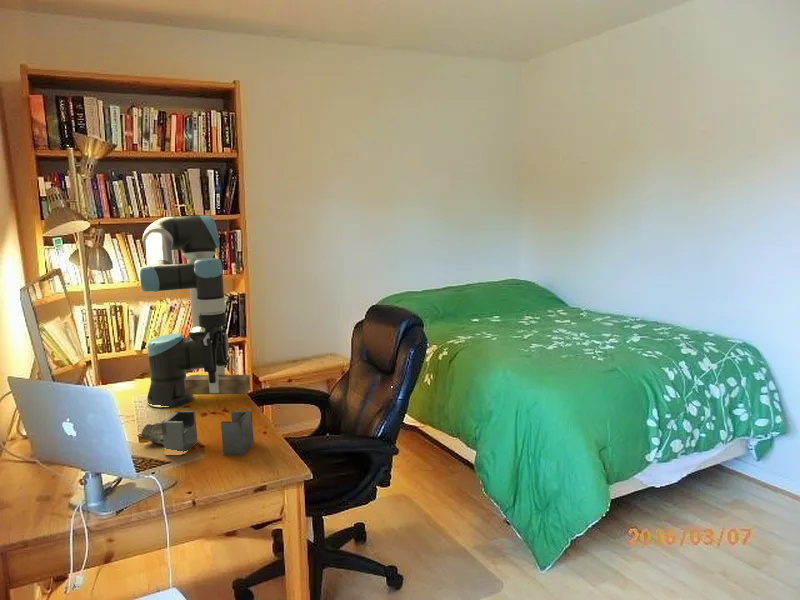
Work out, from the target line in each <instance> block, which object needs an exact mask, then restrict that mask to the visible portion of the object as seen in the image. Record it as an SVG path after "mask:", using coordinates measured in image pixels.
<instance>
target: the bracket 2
mask: <svg viewBox="0 0 800 600" xmlns="http://www.w3.org/2000/svg"><path fill="white" fill-rule="evenodd" d="M230 414H231V416H230V417H231V421H229V420H228V421H221V422H220V427H221V429H220V431H221V445H222V455H223V456H224V457H227V456H229V457H231V456H232V457H235V456H236V457H244V456H245V454H246V453H247V452H248V450H249V449H250V448H251V446H252V445H253V444H254V442H255V440H254V439H255V438H254V425H253V411H252V410H232V411H231V412H230Z"/></svg>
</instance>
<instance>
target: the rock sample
mask: <svg viewBox="0 0 800 600" xmlns="http://www.w3.org/2000/svg"><path fill="white" fill-rule="evenodd" d="M140 437H143V439H145V440H146V441H150V442H151V443H154V444H156V443H157V444H160V445H163V446H164V444H163V433H162V422H157V423H153V424H151V423H147V424H146V425H145V426H144V427H143V429H142V430H141V434H140Z"/></svg>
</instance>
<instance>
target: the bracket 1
mask: <svg viewBox="0 0 800 600" xmlns="http://www.w3.org/2000/svg"><path fill="white" fill-rule="evenodd" d="M161 423H162V433H163V444H164V445H163V444H162V445H163V449H164V448H166V449H171V450H177V451H183V452H184V451H187V450H189V449H190V448H191V447H192V446H193V445H194V444H195V443H196V442H197V441H198V431H197V430H198V429H197V418H196V410H176V411H174V412H173V413H171V414H170V415H169V416H168V417H167V418H166V419H164V420H163V421H161ZM198 442H199V441H198ZM198 442H197V443H198ZM197 443H196V444H197ZM196 444H195V445H196ZM195 445H194V446H195ZM194 446H193V447H194ZM193 447H192V448H193ZM192 448H191V449H192ZM191 449H190V450H191ZM190 450H189V451H190Z"/></svg>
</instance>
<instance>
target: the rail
mask: <svg viewBox="0 0 800 600" xmlns="http://www.w3.org/2000/svg"><path fill="white" fill-rule="evenodd" d="M218 377H219V390H220V392H219V393H210V391H209V379H208V374H200V375H199V374H196V375H195V374H192V375H189V376H186V379H185V380H184V384H185V395H193V396H194V395H196V396H197V395H201V396H202V395H205V396H206V395H246V394H247V393H248V392H249V391H250V390H251V381H250V377H251V376H250V374H225V375H218Z"/></svg>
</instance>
